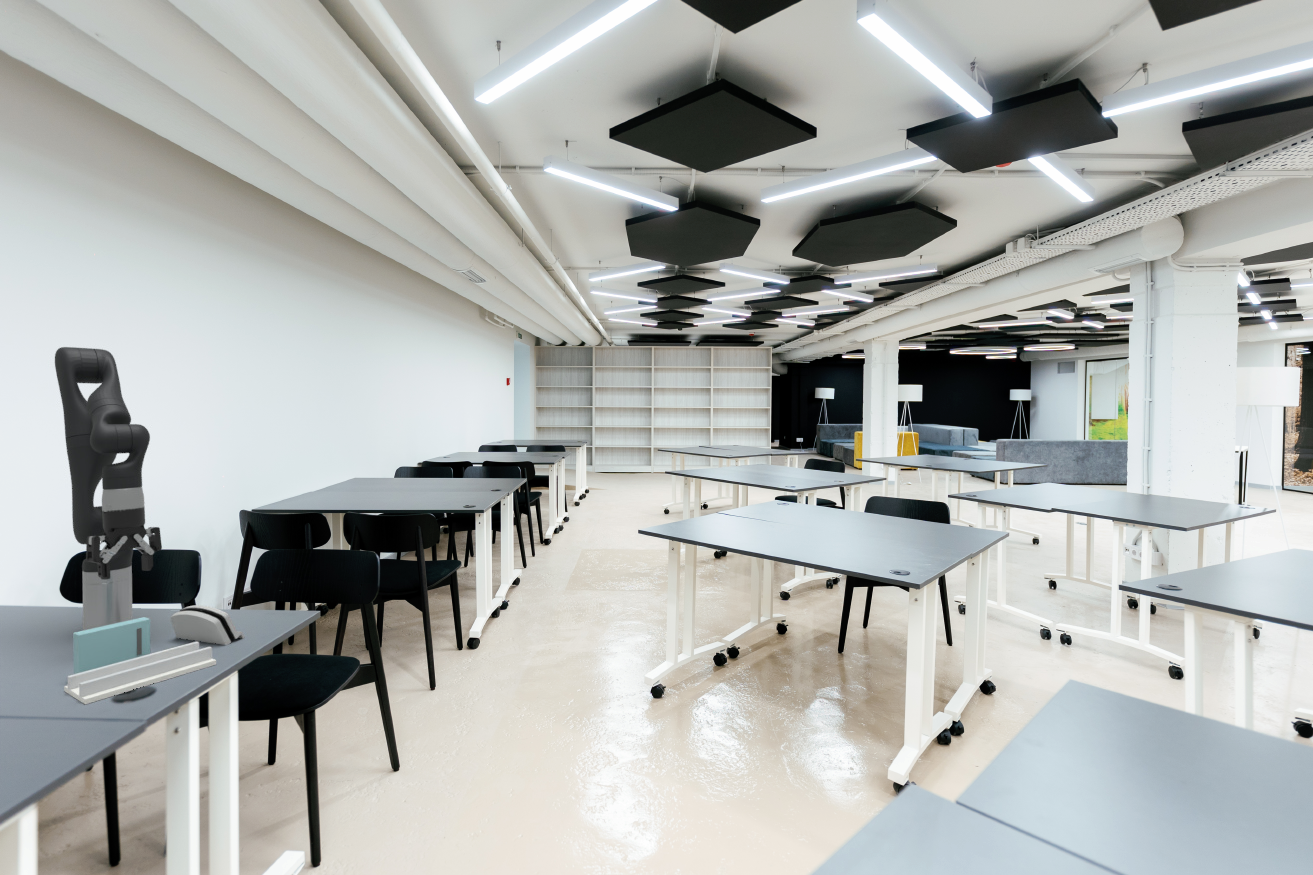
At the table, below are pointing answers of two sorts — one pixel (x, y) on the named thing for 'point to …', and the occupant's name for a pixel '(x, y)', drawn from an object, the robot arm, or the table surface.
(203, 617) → the grey arched block
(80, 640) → the door panel
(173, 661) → the door track
